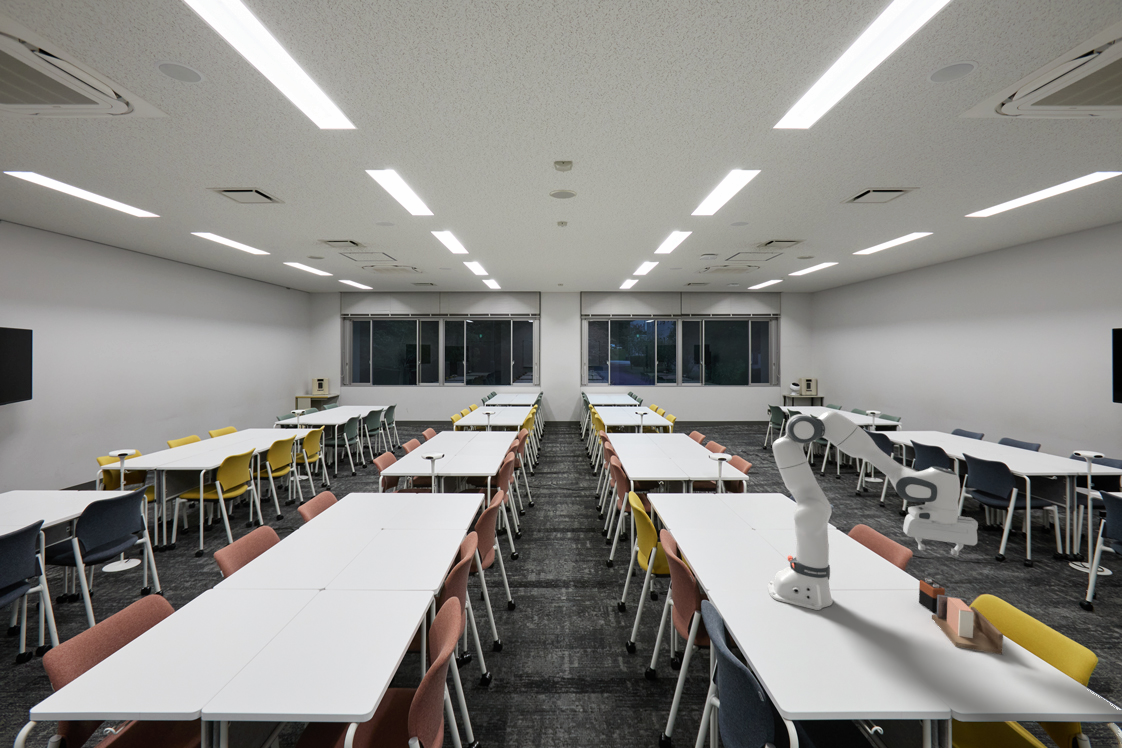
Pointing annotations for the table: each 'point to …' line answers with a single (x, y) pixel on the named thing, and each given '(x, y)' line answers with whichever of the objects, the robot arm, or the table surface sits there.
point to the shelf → (975, 634)
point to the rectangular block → (960, 617)
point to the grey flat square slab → (944, 605)
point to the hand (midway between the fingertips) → (937, 552)
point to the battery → (929, 594)
